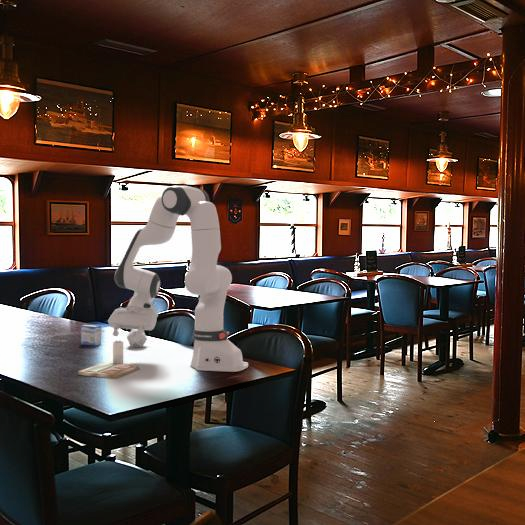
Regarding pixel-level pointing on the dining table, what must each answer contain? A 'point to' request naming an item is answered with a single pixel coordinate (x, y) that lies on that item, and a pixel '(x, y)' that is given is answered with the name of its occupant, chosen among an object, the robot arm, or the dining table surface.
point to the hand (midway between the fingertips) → (125, 336)
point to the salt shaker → (118, 352)
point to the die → (136, 339)
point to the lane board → (108, 370)
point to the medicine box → (91, 335)
